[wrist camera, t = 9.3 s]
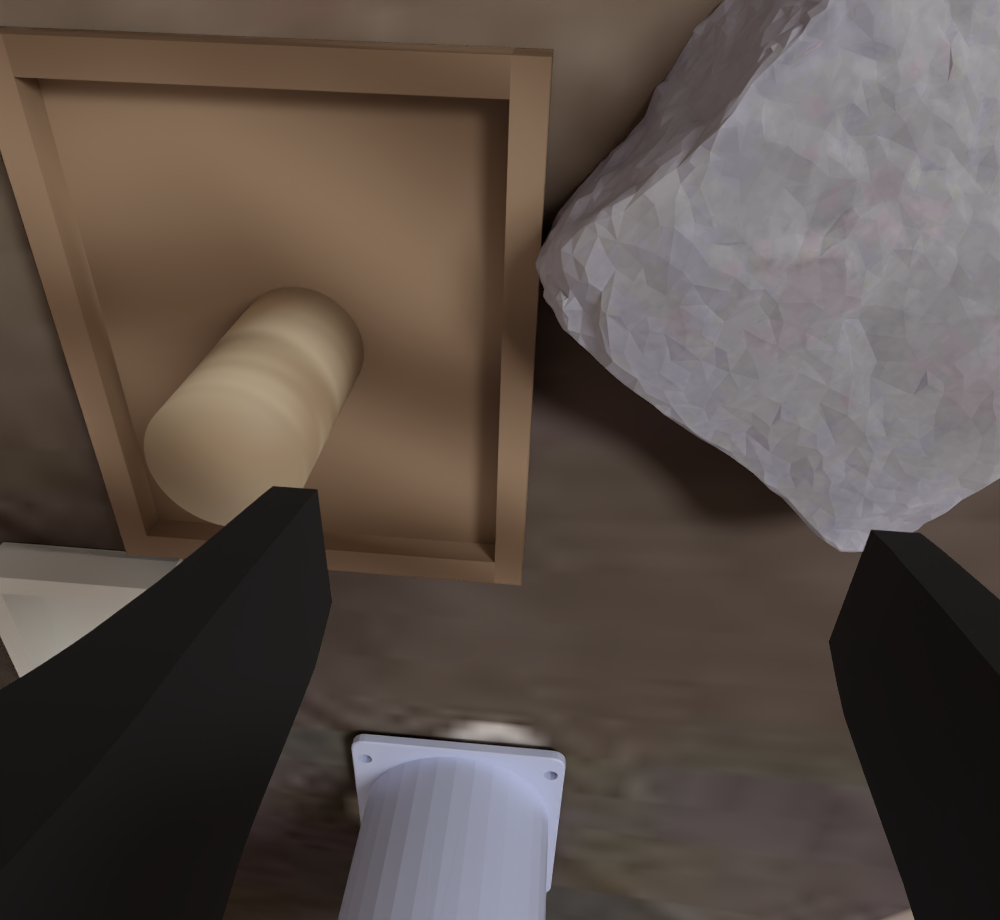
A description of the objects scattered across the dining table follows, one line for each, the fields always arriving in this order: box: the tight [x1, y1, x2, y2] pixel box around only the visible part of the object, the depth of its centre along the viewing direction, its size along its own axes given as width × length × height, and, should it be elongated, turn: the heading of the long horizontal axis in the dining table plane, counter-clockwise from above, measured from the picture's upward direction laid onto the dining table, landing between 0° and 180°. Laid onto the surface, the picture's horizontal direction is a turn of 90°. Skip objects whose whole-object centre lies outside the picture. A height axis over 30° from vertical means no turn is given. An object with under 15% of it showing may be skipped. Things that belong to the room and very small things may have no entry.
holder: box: [0, 542, 183, 677], centre depth 27 cm, size 6×6×2 cm
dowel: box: [144, 287, 364, 526], centre depth 18 cm, size 3×3×6 cm
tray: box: [0, 26, 553, 585], centre depth 20 cm, size 14×12×1 cm
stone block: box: [535, 0, 1000, 552], centre depth 17 cm, size 12×5×10 cm
